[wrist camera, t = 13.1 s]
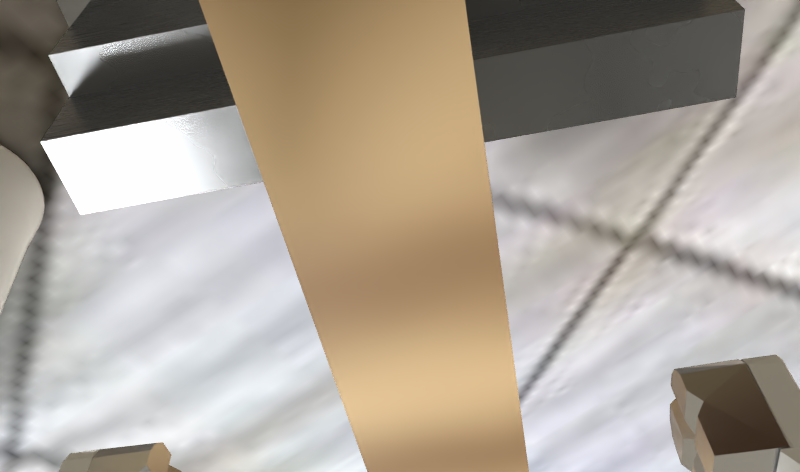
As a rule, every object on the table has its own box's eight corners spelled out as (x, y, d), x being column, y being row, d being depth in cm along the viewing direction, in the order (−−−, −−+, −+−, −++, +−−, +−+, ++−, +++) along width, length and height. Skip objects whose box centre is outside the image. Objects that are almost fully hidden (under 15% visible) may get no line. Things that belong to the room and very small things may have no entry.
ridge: (670, 81, 28) (759, 206, 22) (158, 174, 30) (103, 316, 24) (683, -225, 22) (811, -173, 16) (38, -87, 24) (-78, 10, 18)
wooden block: (136, -474, 13) (4, -544, 8) (371, -534, 12) (377, -644, 8) (399, 421, 27) (407, 583, 23) (510, 404, 27) (541, 565, 22)
